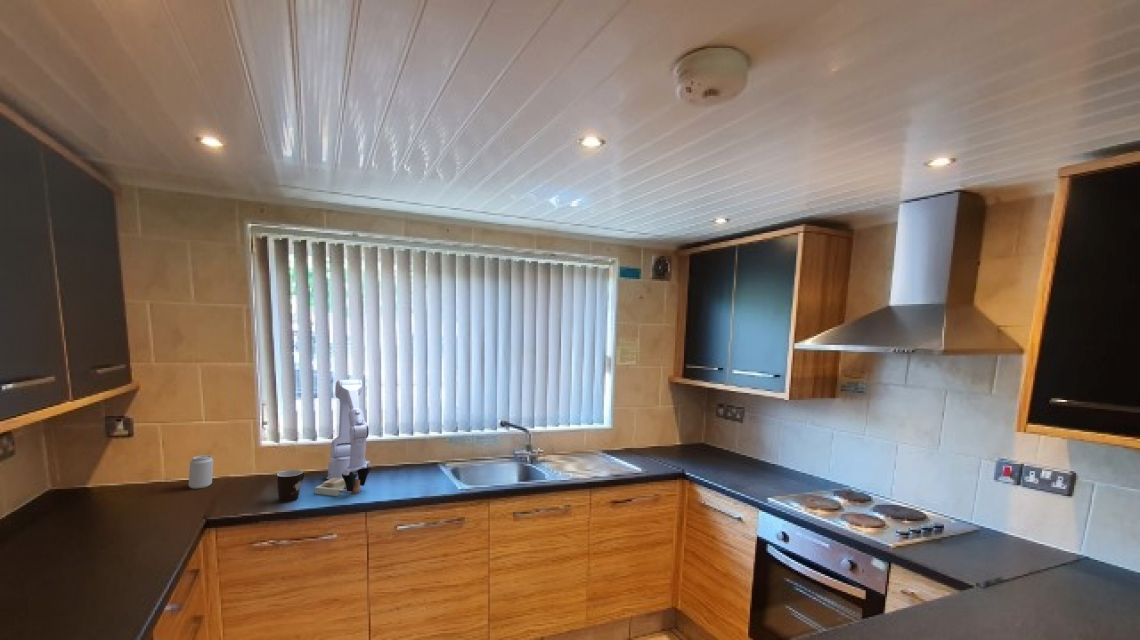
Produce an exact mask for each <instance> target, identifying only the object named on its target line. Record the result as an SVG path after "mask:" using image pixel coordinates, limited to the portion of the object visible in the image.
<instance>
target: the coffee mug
mask: <svg viewBox="0 0 1140 640" xmlns="http://www.w3.org/2000/svg"><path fill="white" fill-rule="evenodd" d="M304 478H305V473H304V471H303V470H299V469H292V470H291V469H290V470H289V469H288V470H283V471H280V472H278V473H277V474H276V481H277V493H278V495H277V496H278V502H280V503H292V502H296V501H297V500H298V499H299V496H300V489H301V484H302V482H303V480H304Z"/></svg>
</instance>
